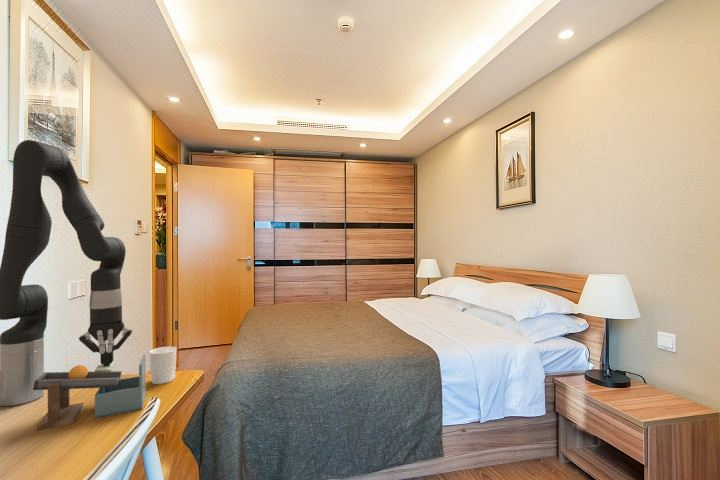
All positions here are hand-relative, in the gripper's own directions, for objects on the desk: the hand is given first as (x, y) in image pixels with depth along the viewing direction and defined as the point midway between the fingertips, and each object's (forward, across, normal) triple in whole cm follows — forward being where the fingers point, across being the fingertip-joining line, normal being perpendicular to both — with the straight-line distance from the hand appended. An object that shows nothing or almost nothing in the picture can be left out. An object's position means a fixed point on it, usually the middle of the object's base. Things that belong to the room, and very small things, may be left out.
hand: (107, 365), depth 100 cm
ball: (-1, +5, +8) cm, 9 cm away
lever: (+2, +5, +4) cm, 6 cm away
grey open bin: (+10, -4, +7) cm, 13 cm away
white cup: (+10, -14, -9) cm, 19 cm away
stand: (+10, +9, +7) cm, 15 cm away
